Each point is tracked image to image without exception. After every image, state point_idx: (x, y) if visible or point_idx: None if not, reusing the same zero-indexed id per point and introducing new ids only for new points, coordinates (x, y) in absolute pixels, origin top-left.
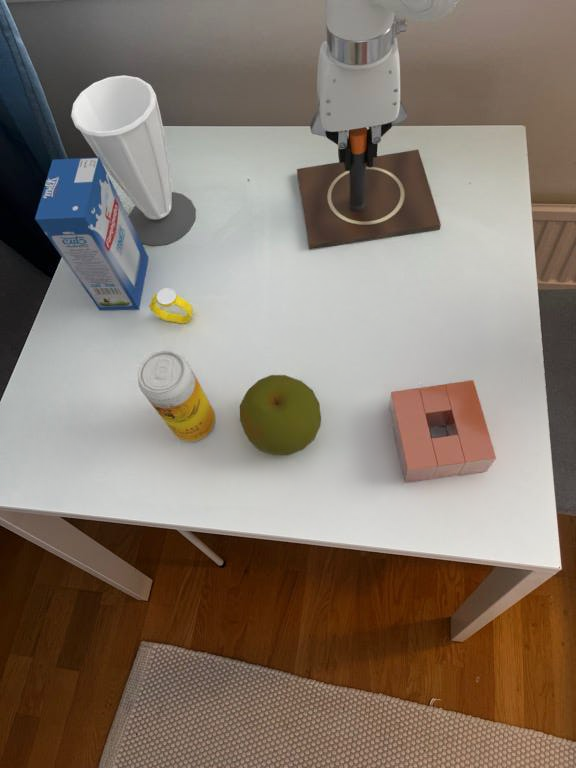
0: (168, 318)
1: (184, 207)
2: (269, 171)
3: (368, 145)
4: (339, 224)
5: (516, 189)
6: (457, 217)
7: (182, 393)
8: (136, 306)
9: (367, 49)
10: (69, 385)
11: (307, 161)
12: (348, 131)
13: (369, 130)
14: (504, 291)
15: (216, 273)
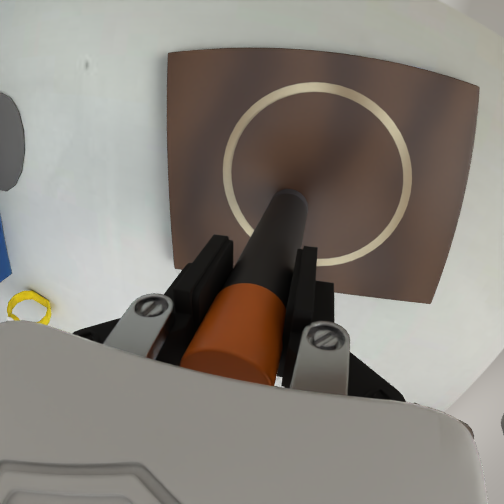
0: (34, 299)
1: (11, 129)
2: (123, 42)
3: (278, 375)
4: (238, 242)
5: None
6: (466, 279)
7: None
8: (7, 276)
9: None
10: (3, 318)
11: (204, 18)
12: (180, 366)
13: (294, 363)
14: (433, 396)
15: (60, 255)
